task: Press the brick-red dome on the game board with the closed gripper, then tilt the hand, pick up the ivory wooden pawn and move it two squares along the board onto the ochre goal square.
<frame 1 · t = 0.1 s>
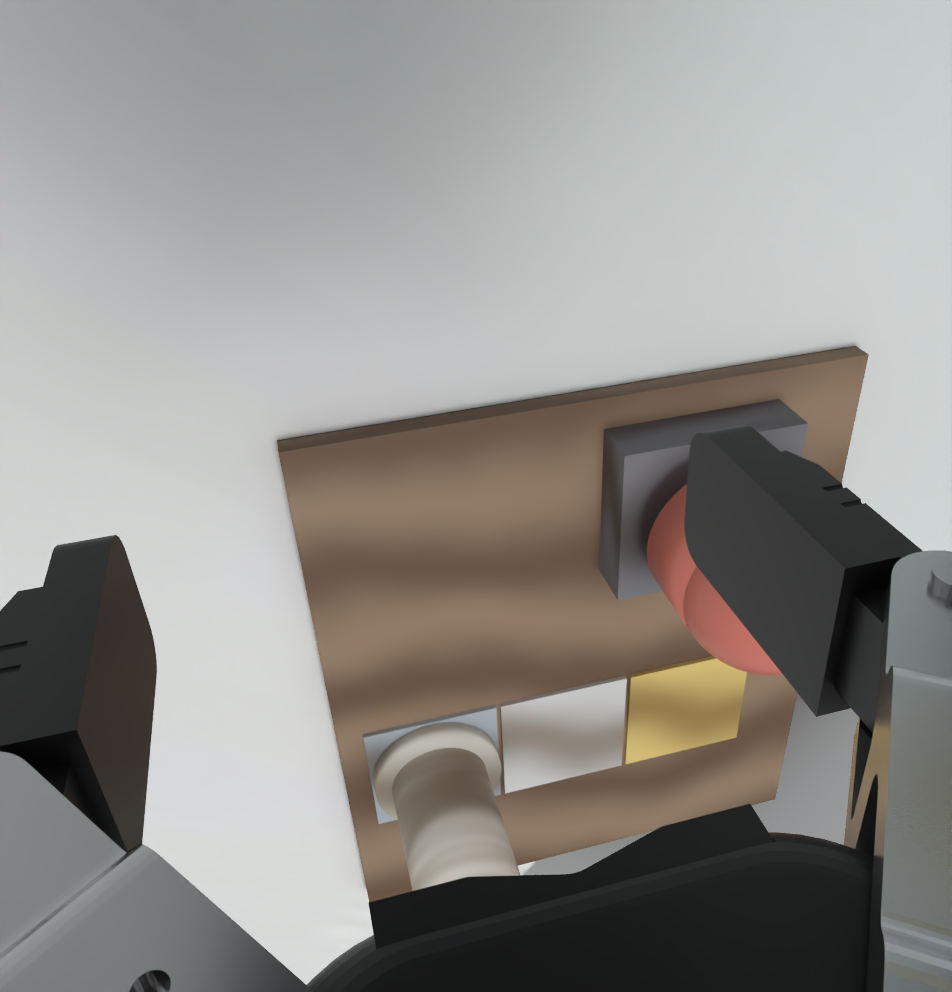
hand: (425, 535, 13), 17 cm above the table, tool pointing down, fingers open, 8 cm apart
pawn: (435, 767, 40), point 1 cm above the table, touching game board
game board: (578, 654, 39), on the table
dome: (766, 583, 30), point 7 cm above the table, slide at 0.0 cm
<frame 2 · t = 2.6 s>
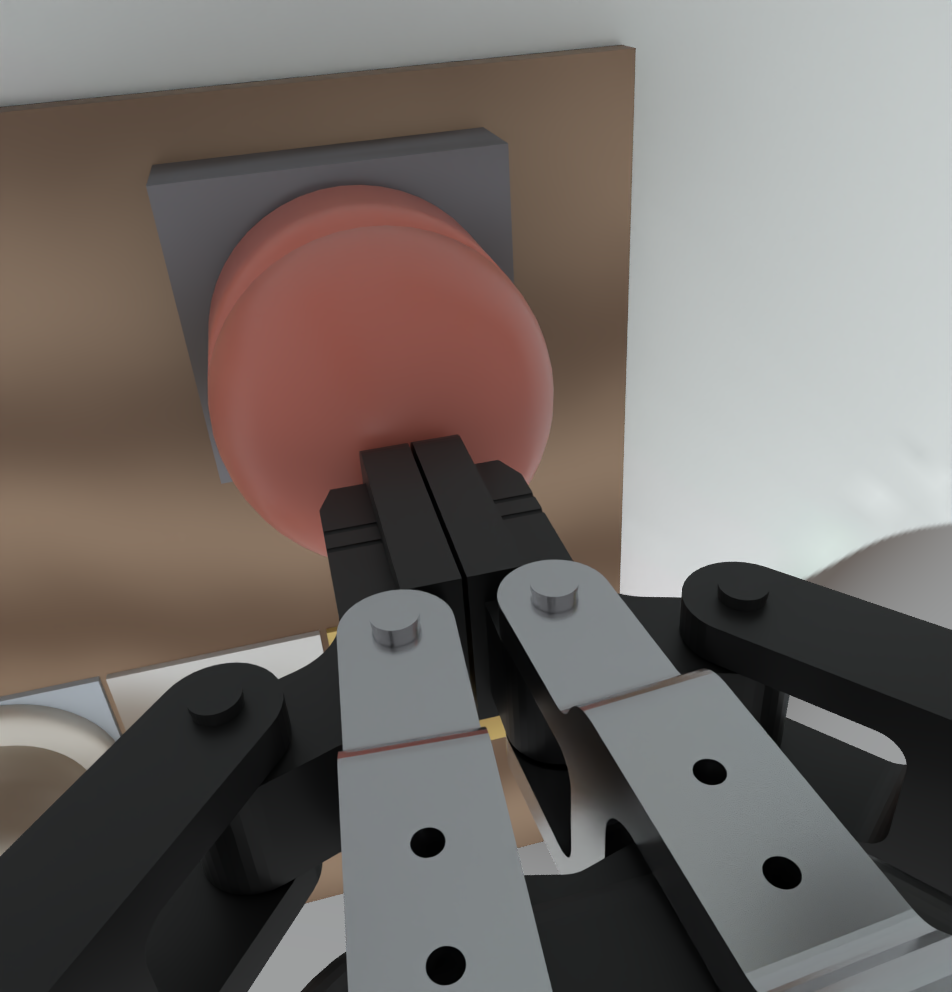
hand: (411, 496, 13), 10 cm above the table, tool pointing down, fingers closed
pawn: (20, 778, 25), point 1 cm above the table, touching game board
game board: (242, 596, 25), on the table
dome: (384, 396, 16), point 7 cm above the table, slide at 0.5 cm, touching gripper
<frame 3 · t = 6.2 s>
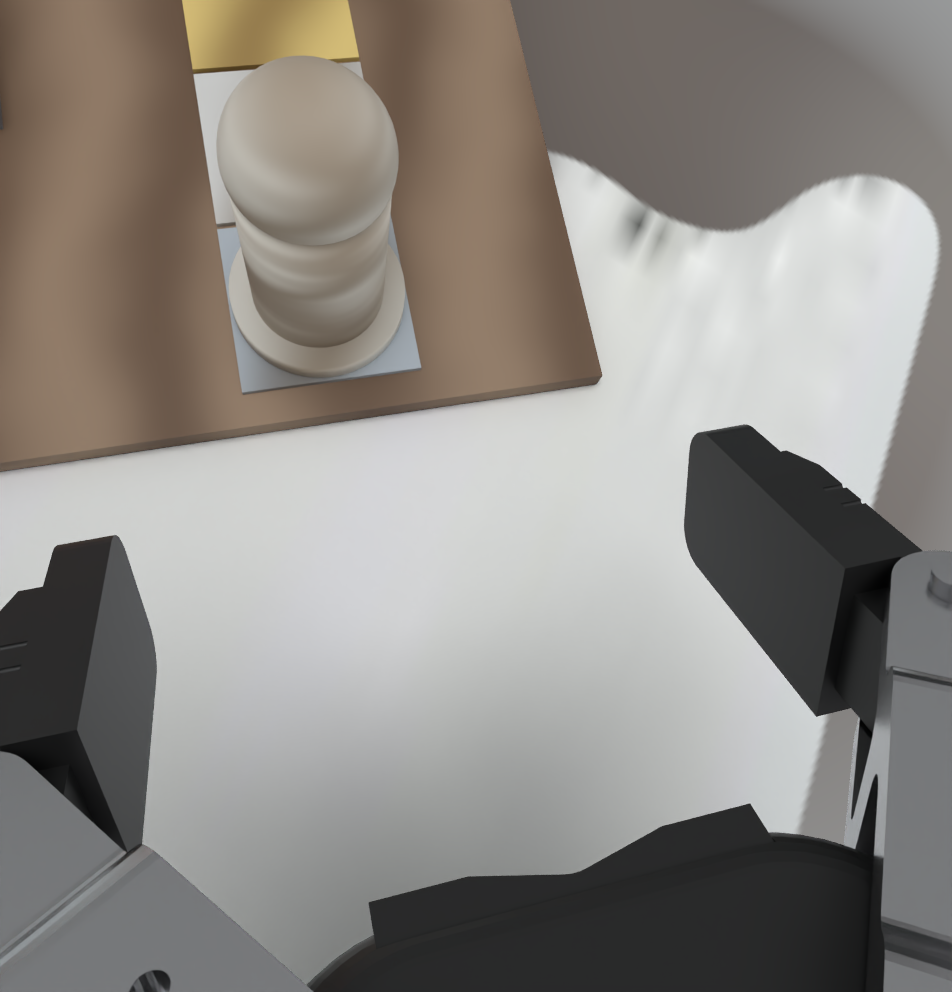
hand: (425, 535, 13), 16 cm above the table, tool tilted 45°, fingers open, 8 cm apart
pawn: (318, 298, 29), point 1 cm above the table, touching game board
game board: (172, 143, 31), on the table
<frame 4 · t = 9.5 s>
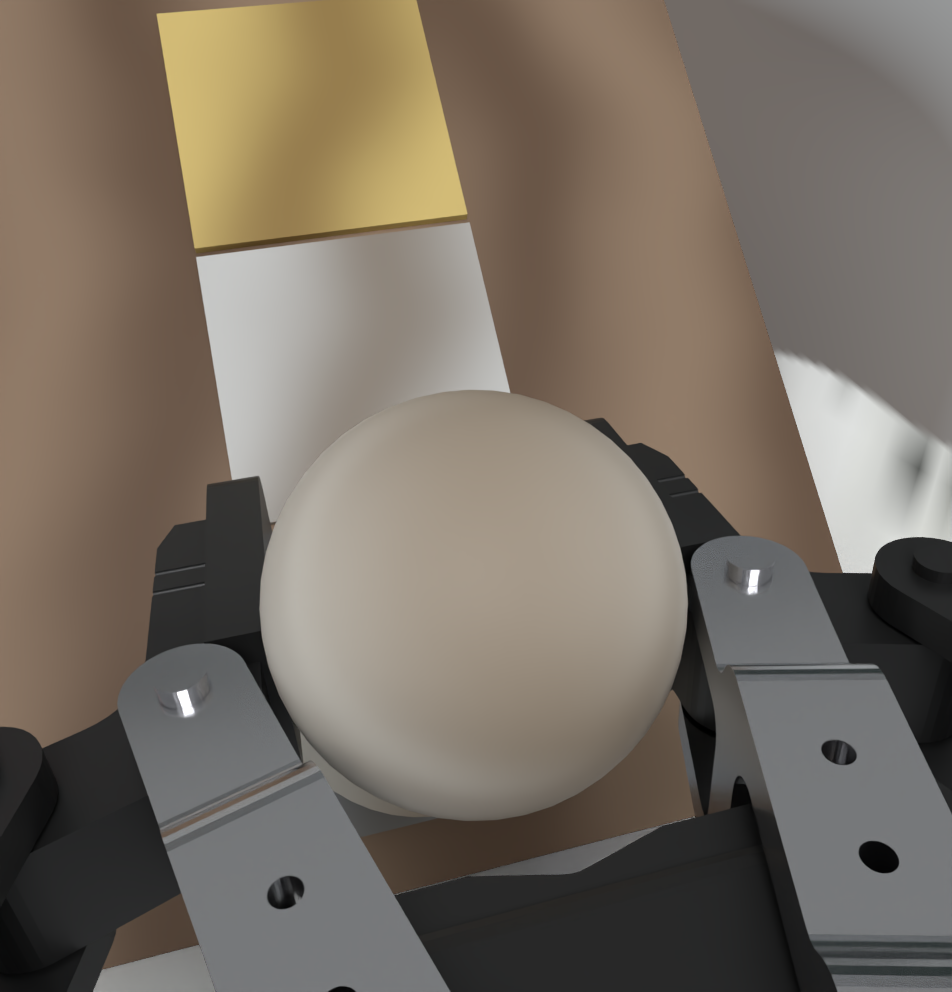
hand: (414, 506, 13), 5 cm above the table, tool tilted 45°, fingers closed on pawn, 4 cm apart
pawn: (420, 656, 17), point 1 cm above the table, touching game board, gripper
game board: (163, 369, 19), on the table
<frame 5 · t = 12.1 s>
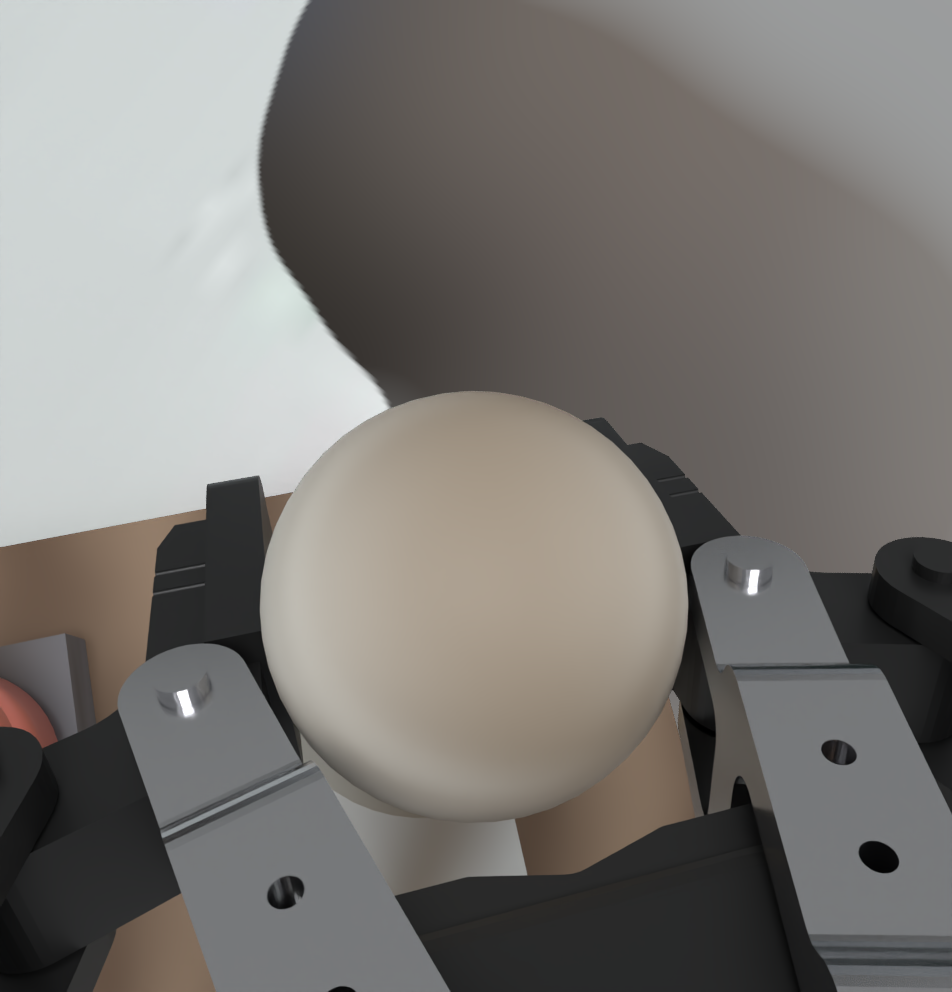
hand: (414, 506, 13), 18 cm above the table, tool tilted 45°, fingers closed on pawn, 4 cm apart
pawn: (422, 657, 17), point 14 cm above the table, touching gripper
game board: (294, 837, 28), on the table
when the fingers open (7 cm above the table, at t = 14.8 s): pawn drops 1 cm, resting on game board.
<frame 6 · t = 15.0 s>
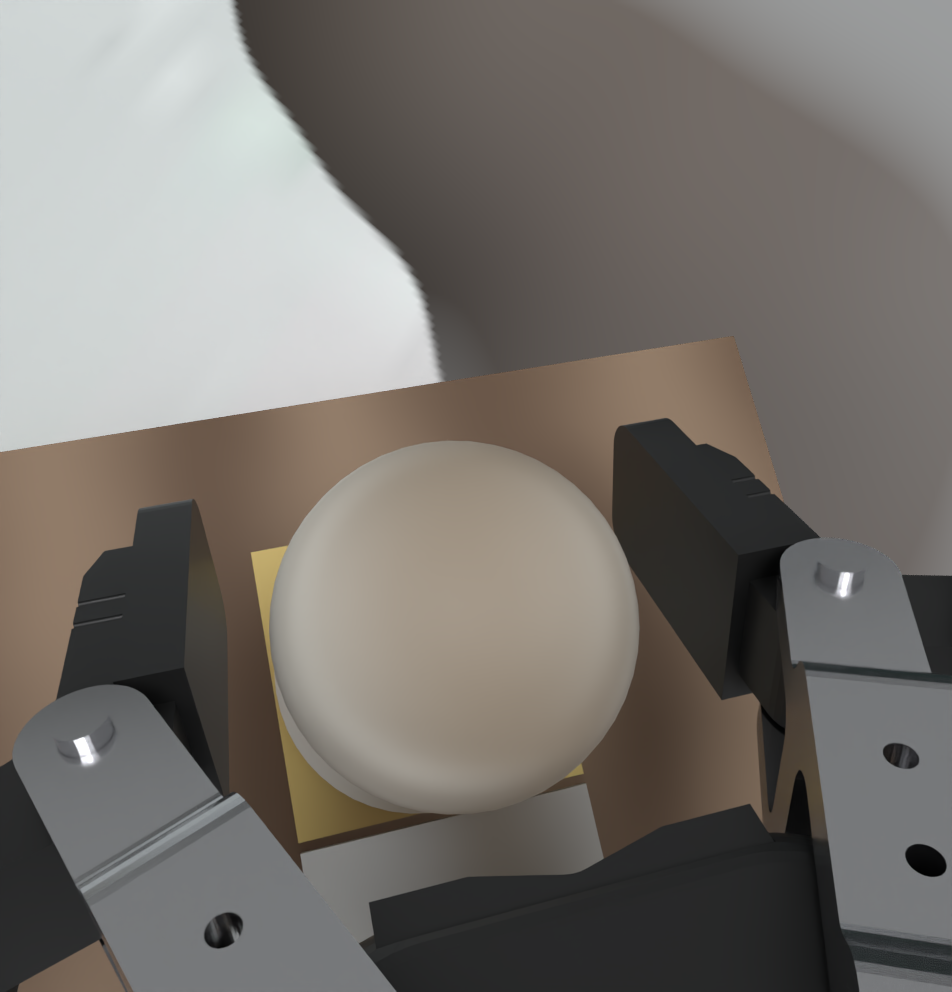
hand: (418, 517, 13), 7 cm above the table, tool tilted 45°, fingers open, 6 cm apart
pawn: (417, 665, 18), point 1 cm above the table, touching game board
game board: (263, 961, 18), on the table
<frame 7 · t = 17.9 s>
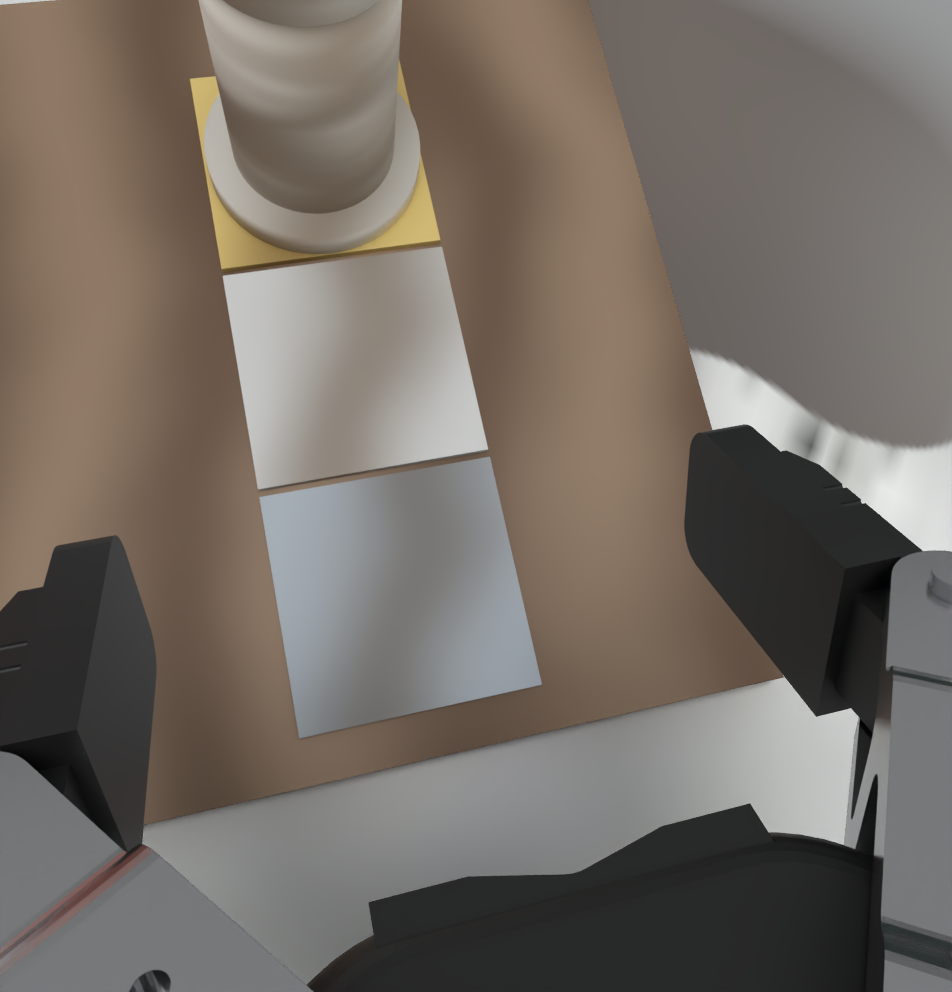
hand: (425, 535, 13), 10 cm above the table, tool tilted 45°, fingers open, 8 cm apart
pawn: (315, 161, 24), point 1 cm above the table, touching game board
game board: (196, 365, 23), on the table
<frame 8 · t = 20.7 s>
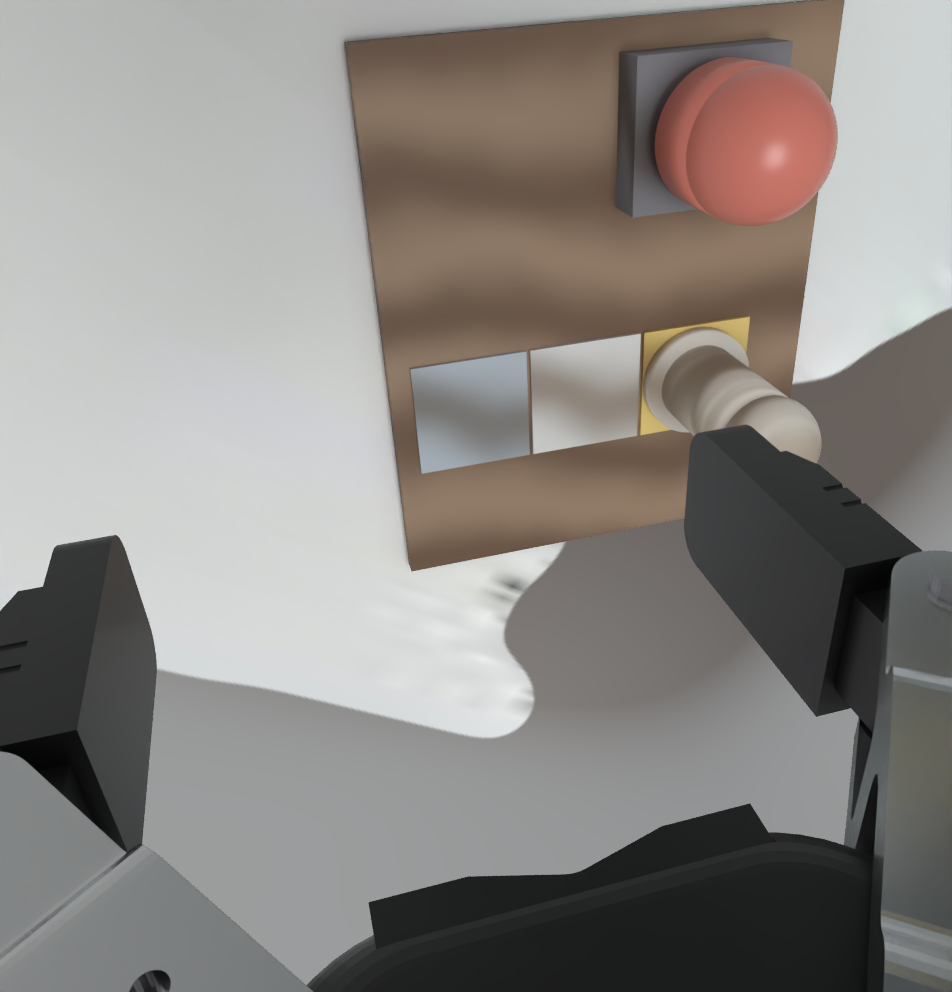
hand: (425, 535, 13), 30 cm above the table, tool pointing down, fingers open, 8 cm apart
pawn: (692, 377, 47), point 1 cm above the table, touching game board
game board: (598, 311, 45), on the table
dome: (756, 147, 35), point 7 cm above the table, slide at 0.3 cm
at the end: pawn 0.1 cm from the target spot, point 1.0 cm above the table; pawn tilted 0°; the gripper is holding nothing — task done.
